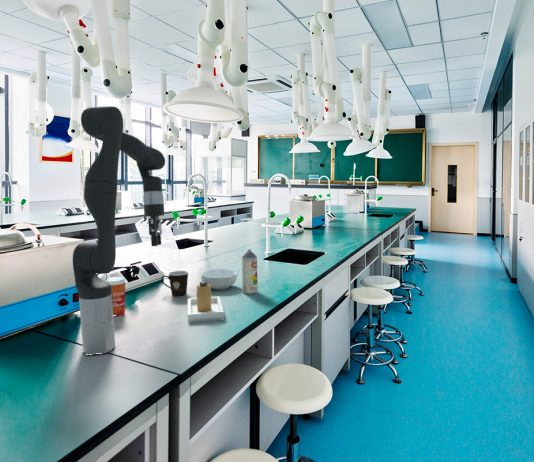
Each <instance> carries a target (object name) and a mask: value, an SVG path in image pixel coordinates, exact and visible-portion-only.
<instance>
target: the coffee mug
mask: <svg viewBox="0 0 534 462" xmlns="http://www.w3.org/2000/svg"><path fill="white" fill-rule="evenodd" d="M188 277H189V272H188V271H186V270H176V271H175V270H174V271H171V272H170V271H169V272H168V275H163V276H162V277H161V281H160V282H161V283H162V284H163V285H164V286H166V287H167V288H168V289H170V290H171V296H172V297H175V298H176V297H177V298H180V297H185V296H187V295H188V293H187V291H188V281H189V278H188ZM163 278H167V279H168V280H169V285H170V286H169V285H168V284H166V283H165V281H164V279H163Z"/></svg>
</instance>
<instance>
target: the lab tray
mask: <svg viewBox="0 0 534 462" xmlns="http://www.w3.org/2000/svg"><path fill="white" fill-rule="evenodd" d="M211 308H212V310H211V311H208V312H199V311H197V297H193V298H192V297H191V298H187V322H188V323H199V322H200V323H201V322H213V321H224V320H225V314H224V313H225V311H224V308H223V304H222V300H221V296H211Z"/></svg>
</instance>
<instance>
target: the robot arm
mask: <svg viewBox="0 0 534 462" xmlns="http://www.w3.org/2000/svg"><path fill="white" fill-rule="evenodd" d="M80 122H81V127H82V128H83V130H84V132H85V133H86V134H87V135H89V136H90V137H92V138H94V139H96V140H98V141H102V144H101V148H100V151H99V153H98V154H97V157H96V158H95V159H94V161H93V162H92V164H91V165H90V167H89V168H88V170H87V171H86V174H85V177H84V186H83V190H84V191H83V200H84V203H85V205H86V207H87V209H88V211H89V213H90V214H91V217H92V218H93V220H94V223H95V225H96V229H97V230H96V231H97V242H82V243H79V244H77V245H76V246H75V248H74V249H73V253H72V269H73V275H74V282H75V288H76V291H77V292H78V301H79V314H80V328H81V330H80V331H81V341H82V352H83V351H84V352H85V353H84V352H83V353H84V355H85V354H94V353H95V354H96V353H107V352H108V351H109V352H111V351H113V350H114V349H115V348H116V337H115V334H116V333H115V322H114V316H113V304H112V288H111V285H110V284H109V283H107V282H106V280H102V279H101V278H100V277H99V276H98V275H99V274H101V275H102V274H104V275H106V274H109V273H111V272H112V271H113V269H114V267H115V265H116V255H117V254H116V253H117V250H116V249H117V248H116V207H117V198H118V179H119V178H118V176H119V175H118V173H119V172H118V171H119V161H120V151H121V152H122V153H123V154H125V155H127V156H128V157H129V158H131V159H132V160H133V161H135V162H136V166H137V169H138V171H139V174H140V177H141V180H142V188H143V199H142V200H143V201H142V202H143V212H144V213H143V214H144V215H143V216H144V217H149V218H148V219H147V221H148V235H149V236H150V241H151V242H150V243H151V247H157V246H159V245H160V246H161V245H162V237H161V236H162V233H163V231H162V230H163V229H162V219H161V218H160V217H161V216H164V215H165V202H164V194H163V182H162V178H161V177H160V176H157V175H152V174H151V172H150V171H158V170H162V169H163V168H164V167H165V165H166V157H165V155H164V154H163V153H162V152H161V151H160V150H159V149H156V148H154V147H152V146H149V145H146V143H144V142H143V141H142V140H141V139H139V138H138V137H137V136H134V135H132V134H130V133H127V132H124V118H123V113H122V111H121V110H120V109H119V108H118V107H117V106H114V105H113V106H112V105H107V106H106V105H104V106H102V105H101V106H92V107H87V108H86V109H84V110H83V111H82V112H81V116H80ZM97 274H98V275H97ZM114 347H115V348H114ZM113 348H114V349H113ZM112 349H113V350H112ZM110 350H111V351H110ZM109 352H108V353H109ZM108 353H107V354H108Z"/></svg>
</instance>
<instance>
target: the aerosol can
mask: <svg viewBox="0 0 534 462" xmlns="http://www.w3.org/2000/svg"><path fill="white" fill-rule="evenodd" d="M241 257H242V258H241V262H242V263H241V268H242V269H241V270H242V274H241V275H242V276H241V277H242V294H244V295H249V296H250V295H255V294H258V291H259V290H258V289H259V288H258V287H259V286H258V257H257V254H255V253H254V252H253V251H252V249H251V248H248V249H247V251H246V252H245V253H244V254H243V255H242V256H241Z"/></svg>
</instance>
